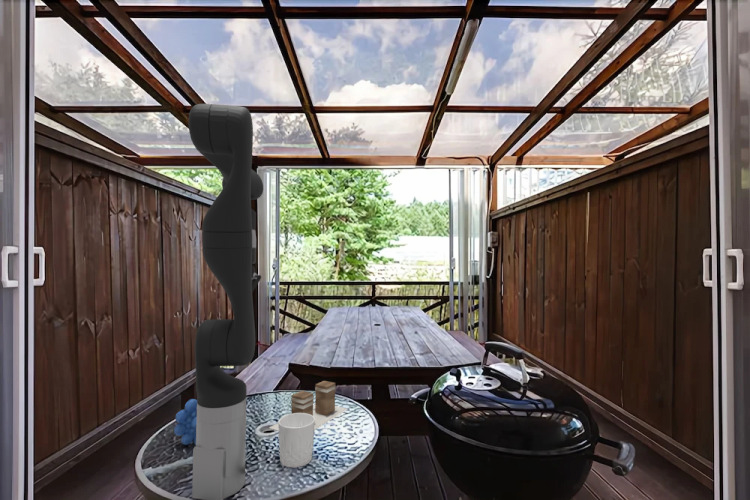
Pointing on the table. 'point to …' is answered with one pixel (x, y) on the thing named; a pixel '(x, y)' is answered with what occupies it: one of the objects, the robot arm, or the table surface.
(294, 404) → the two band post
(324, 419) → the white rectangular board
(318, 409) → the one band post
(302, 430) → the white cup
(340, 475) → the table surface
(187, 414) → the grapes
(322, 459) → the table surface
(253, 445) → the table surface
